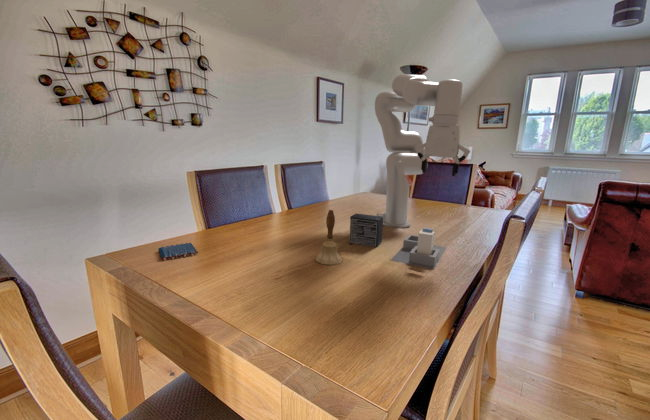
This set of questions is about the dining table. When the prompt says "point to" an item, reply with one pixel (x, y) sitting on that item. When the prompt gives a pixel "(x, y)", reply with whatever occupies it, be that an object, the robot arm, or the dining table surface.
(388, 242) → the dining table surface
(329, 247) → the hand bell
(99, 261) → the dining table surface
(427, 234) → the plug
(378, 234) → the small box
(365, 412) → the dining table surface
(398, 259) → the panel
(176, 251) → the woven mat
